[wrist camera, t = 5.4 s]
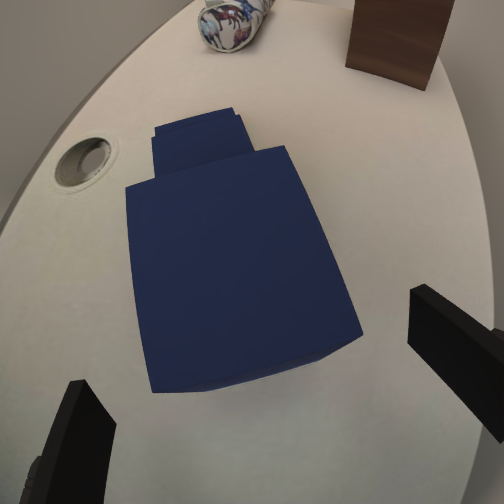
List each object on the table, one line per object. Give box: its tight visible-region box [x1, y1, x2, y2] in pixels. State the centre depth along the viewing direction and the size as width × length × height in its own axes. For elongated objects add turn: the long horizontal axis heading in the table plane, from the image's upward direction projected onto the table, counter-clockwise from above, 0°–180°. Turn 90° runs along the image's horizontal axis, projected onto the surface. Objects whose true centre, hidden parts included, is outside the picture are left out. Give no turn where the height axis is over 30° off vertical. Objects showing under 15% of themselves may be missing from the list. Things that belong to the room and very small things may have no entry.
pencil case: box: [198, 0, 275, 53], centre depth 38 cm, size 22×8×10 cm, turn 168°
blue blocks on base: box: [125, 107, 363, 393], centre depth 20 cm, size 22×8×12 cm, turn 15°
